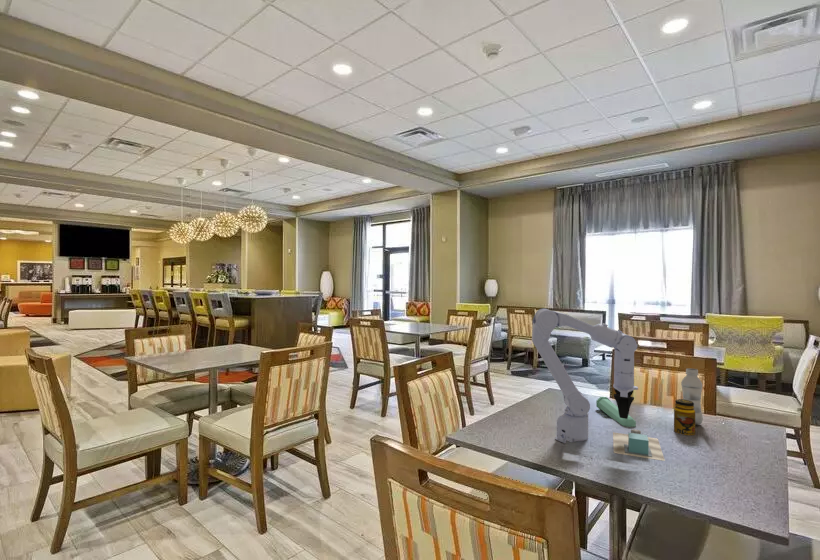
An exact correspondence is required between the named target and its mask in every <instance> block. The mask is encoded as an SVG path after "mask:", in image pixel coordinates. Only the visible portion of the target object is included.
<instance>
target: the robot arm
mask: <svg viewBox="0 0 820 560" xmlns="http://www.w3.org/2000/svg"><path fill="white" fill-rule="evenodd" d="M533 316H534V317H533V319H532V326H531V327H532V328H531V329H532V330H531V342H532V343H533V345H534V347H535V349H536V350H537V352H538V353H539V355H540V357H541V359H542V361H543V362H544V364H545V366H546V367H547V369H548V371H549V372H550V374H551V376H552V377H553V379H554V381H555V382H556V384H557V385H558V388H559V389H560V391H561V393H562V395H563V401H564V403H565V405H566V407H565V409H564V412H563V414H562V415H559V416H558V418H557V420H556V437H554V440H557V441H558V442H561V443H562V444H566V442H567V441H568V442H570V443H574V442H581V441H587V440H589V411H590V409H591V404H590V401H589V400H588V399H587V398H586V397H585V396H584V395H583V394H582V392H581V391H580V390H579V389H578V388H577V387H576V384H575V383H574V382H573V380H572V379H571V376H570V375H569V374H568V372H567V370H566V368H565V366H564V364H563V362H561V359H560V358H559V357H558V355H557V353H556V351H555V350H554V348H553V347H552V345H551V343H550V341H549V340H550V336H551V334H552V333H553V331H554V330H555V328H556V327H558V328H562V327H563V328H564V327H568V328H569V327H570V328H572V329H575V330H577V331H580V332H583V333H586V334H587V335H589V337H590V338H591V340H592V341H594V342H596V343H599V344H601V345H604V346H606V347H609V348H613V349H614V356H613V358H614V359H613V361H614V362H613V385H612V386H613V389H614V390H613V391H614V393H613V397H614V400H615V402H616V406H617V407H618V411H619V416H620V418H625V419H627V418H628V415H629V416H630V410H631V406H632V403H633V402H634V399H635V397H634V396H632V395H633V394H634V390H635V391H638V390H639V386H636V385H635V352H636V351H637V349H638V345H639V344H637V341H636V339H635V338H634V337H633V336H631V335H629V334H626V333H624V332H623V331H622V330H619V329H618V330H616V329H614V328H611V327H608V324H606V323H604V322H603V323H597V324H594V325H592V324H590V323H589V322H586V321H584V320H582V319H579V318H575V317H574V316H572V315H569V314H567V313H564V312H559V311H556V310H550V309H548V308H539V309H538V310H537V311H536V312H535V313H534V315H533Z"/></svg>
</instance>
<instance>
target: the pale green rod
mask: <svg viewBox="0 0 820 560" xmlns="http://www.w3.org/2000/svg"><path fill="white" fill-rule="evenodd" d="M595 405H596V408H597V409H599V410H600V411H603V412H604V413H605V414H606V415H607V417H609V418H611V419H612V420H615V422H617V423H619V424H620V425H621V426H623V427H630V428H633V427H635V428H636V426H637V423H636V420H635V419H634V418H633V417H632V416H631V415H630V414H629V415H628V418H627V419H625V418H620V416H619V411H618V406H617V404H615V403H613V402H612V401H611V399H609V398H608V397H607V396H600V397H598V398H597V399H596V402H595Z"/></svg>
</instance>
